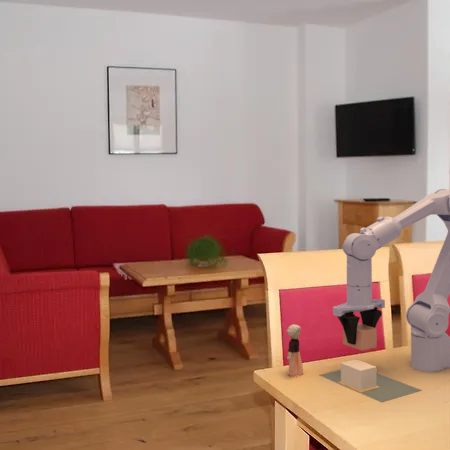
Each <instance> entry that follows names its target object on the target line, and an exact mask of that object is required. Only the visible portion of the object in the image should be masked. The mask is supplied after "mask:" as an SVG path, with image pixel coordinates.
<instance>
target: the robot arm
mask: <svg viewBox="0 0 450 450" xmlns="http://www.w3.org/2000/svg"><path fill="white" fill-rule="evenodd" d="M431 215H432V216H433V215H436V216H437V217H438V218H440V220H441V221H442V222H443V223H444V225H445V227H446V229H447V231H448V232H447V235H446V237H445V239H444V242H443V244H442V246H441V249H440V251H439V254H438V256H437V259H436V261H435V264H434V266H433V270H432V271H431V274H430V277H429V278H428V282H427V284H426V286H425V289H424V291H423V292H421V293H419V294H418V295H417V296H416V297H415V300H414V301H413V303H412V304H410V305H409V307H408V308H407V311H406V312H405V319H406V321H407V323H408V325H410V367H411V368H412V369H414V370H416V371H419V372H426V373H434V372H439V371H441V370H444V369H446V368H449V369H450V336H449V335H448V333H446V332H447V330H448V328H449V315H450V304H449V302H448V298H449V297H450V189H445V188H440V189H437V190H436V191H434V192H431V193H429V194H427V195H426V196H425V197H423V198H422V199H420V200H419V201H417V202H416V203H414V204H412V205H411V206H410V207H408V208H407V209H405V210H403V211H402V212H401V213H399V214H397V215H395V216H394V217H391V216H389V215H388V216H387V215H386V216H378V217H377V218H376V221H375V222H373V223H372V224H370V225H368V226H367V227H362V228H360V229H359V233H358V232H356V233H355V232H354V233H350V234H349V235H347V236H346V237H345V239H344V240H343V244H342V245H341V246H342V247H341V248H342V252H343V253H344V254H345V255H346V302H344V303H341V304H339V305H336V306H335V305H334V306H332V316H335V317H337V319H338V320H339V321H340V322H339V323H340V324H341V326H342V329H343V328H344V331H345V334H346V338H347V342H348V343H350V344H353V345H354V344H356V334H357V326H358V323H360V322H359V321H360V318H361V324H364V325H367V326H370V327H374V328H377V324H378V322H379V320H380V318H381V317H382V315H383V312H382V310H380V309H385V308H386V306H385V305H386V300H385V299H382V298H375V299H373V288H372V287H373V285H372V284H373V282H372V281H373V276H372V275H373V273H372V271H373V269H372V268H373V267H372V265H373V264H372V259H373V257H374V256H375V255H376V252H377V251H379V249H381V248H383V247H384V246H387V245H388V244H390V243H391V242H393V241H395V240H396V239H398V238H400V236H401V233H402V230H403V229H405V228H409V226H411V225H413V224H415V223H417V222H420V221H421V220H423V219H425V218H426V217H429V216H431ZM354 313H359V314H360V316H357V315H355V314H354Z"/></svg>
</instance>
